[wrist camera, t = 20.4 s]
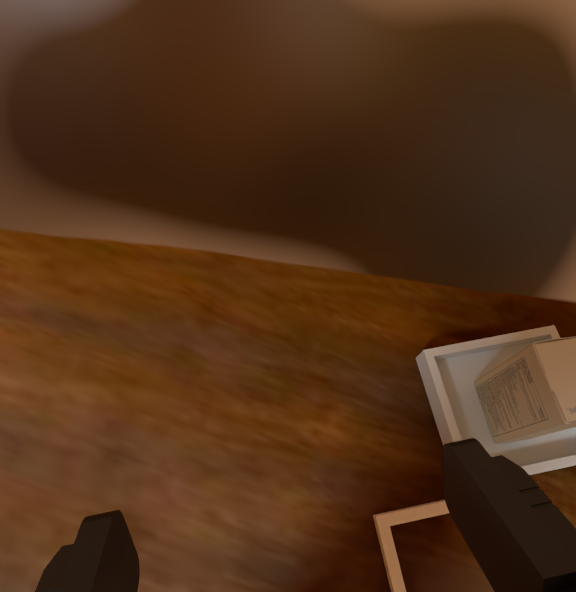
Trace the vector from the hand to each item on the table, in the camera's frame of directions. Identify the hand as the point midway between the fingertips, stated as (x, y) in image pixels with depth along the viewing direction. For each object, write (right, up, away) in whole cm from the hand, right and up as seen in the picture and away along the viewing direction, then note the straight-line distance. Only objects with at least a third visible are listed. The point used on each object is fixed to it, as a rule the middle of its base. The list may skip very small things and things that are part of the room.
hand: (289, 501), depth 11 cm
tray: (+21, -6, +33) cm, 40 cm away
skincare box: (+21, -6, +32) cm, 39 cm away
